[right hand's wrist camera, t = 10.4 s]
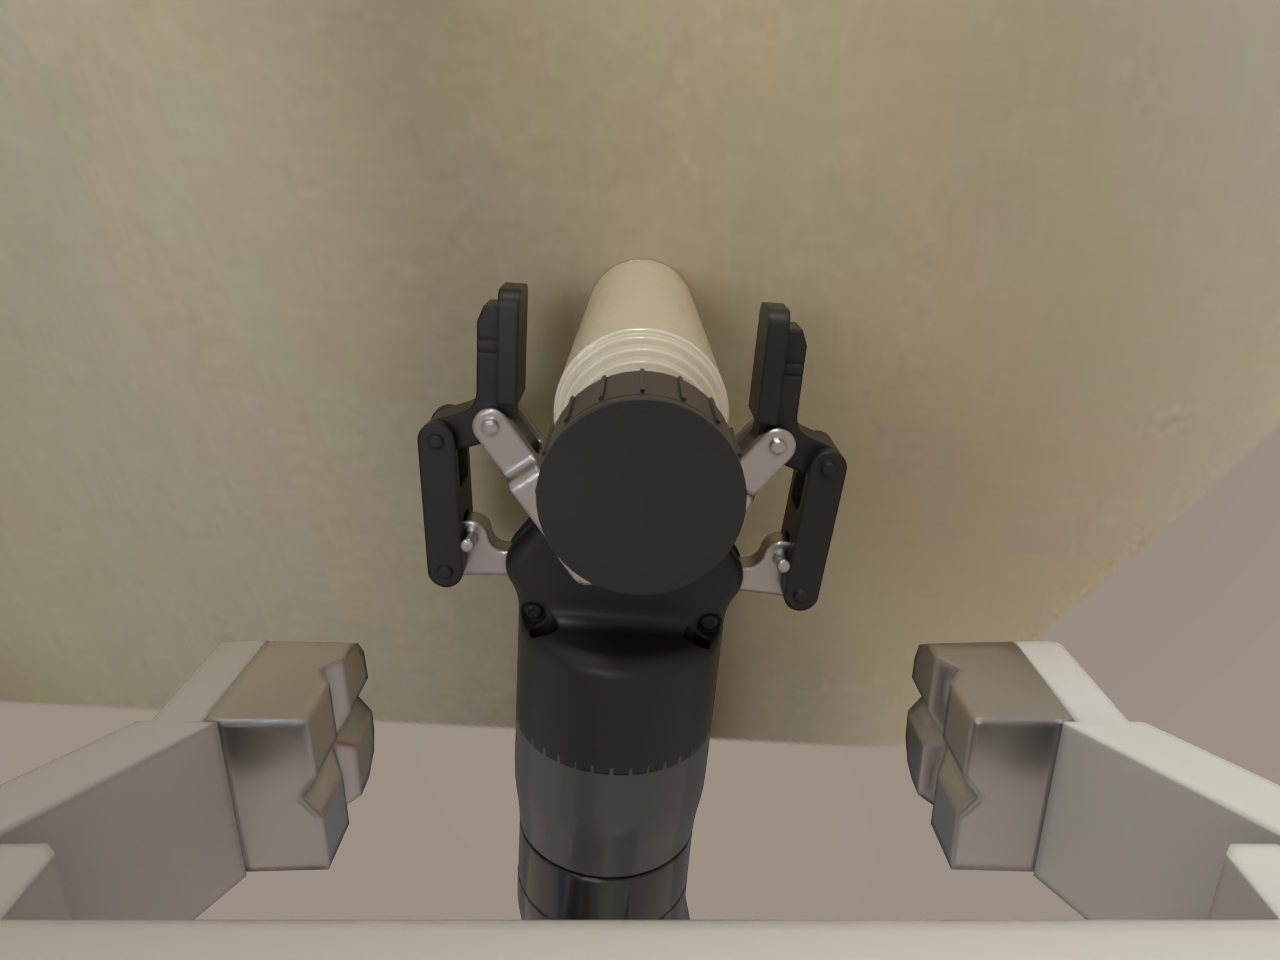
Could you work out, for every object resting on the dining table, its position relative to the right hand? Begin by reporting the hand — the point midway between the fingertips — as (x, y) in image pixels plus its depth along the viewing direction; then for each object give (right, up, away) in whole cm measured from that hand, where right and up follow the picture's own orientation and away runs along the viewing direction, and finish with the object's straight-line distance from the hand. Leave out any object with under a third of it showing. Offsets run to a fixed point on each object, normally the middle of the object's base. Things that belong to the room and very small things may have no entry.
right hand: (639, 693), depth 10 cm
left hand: (0, +8, +19) cm, 20 cm away
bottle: (0, +9, +25) cm, 26 cm away
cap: (0, +2, +6) cm, 6 cm away
